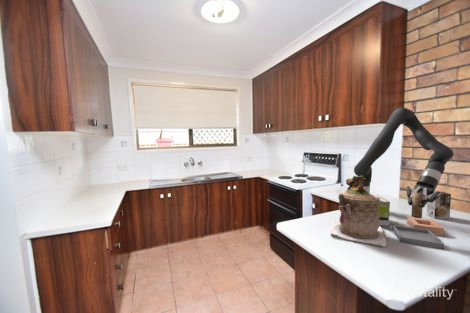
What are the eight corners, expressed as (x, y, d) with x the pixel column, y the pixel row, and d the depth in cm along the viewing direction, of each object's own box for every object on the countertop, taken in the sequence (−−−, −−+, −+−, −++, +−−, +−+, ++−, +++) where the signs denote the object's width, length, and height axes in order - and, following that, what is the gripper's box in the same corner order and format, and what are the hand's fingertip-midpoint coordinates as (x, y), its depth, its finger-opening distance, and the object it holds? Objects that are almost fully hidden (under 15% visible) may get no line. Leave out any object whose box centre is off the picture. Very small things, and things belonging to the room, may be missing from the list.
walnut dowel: (412, 217, 102) (414, 193, 102) (410, 214, 106) (411, 192, 105) (423, 218, 101) (424, 194, 100) (420, 216, 104) (421, 192, 103)
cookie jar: (382, 229, 115) (384, 173, 113) (388, 249, 94) (391, 180, 91) (333, 221, 128) (334, 170, 125) (329, 237, 106) (330, 176, 104)
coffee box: (440, 215, 135) (442, 191, 134) (450, 219, 128) (451, 193, 127) (425, 215, 136) (427, 191, 135) (434, 218, 129) (435, 193, 128)
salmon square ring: (413, 231, 112) (414, 224, 111) (406, 223, 122) (407, 217, 122) (443, 235, 106) (444, 228, 106) (433, 227, 117) (433, 220, 117)
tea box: (389, 226, 119) (390, 201, 117) (370, 225, 121) (371, 200, 119) (377, 217, 133) (378, 194, 132) (360, 216, 135) (360, 194, 134)
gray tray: (400, 242, 101) (400, 237, 100) (391, 229, 115) (392, 224, 115) (443, 249, 94) (444, 243, 93) (429, 234, 108) (429, 230, 108)
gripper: (410, 173, 111) (396, 197, 107) (445, 176, 98) (430, 205, 94) (415, 181, 114) (401, 206, 110) (449, 186, 101) (436, 214, 97)
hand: (415, 205), depth 102 cm, fingers closed on walnut dowel, 4 cm apart
